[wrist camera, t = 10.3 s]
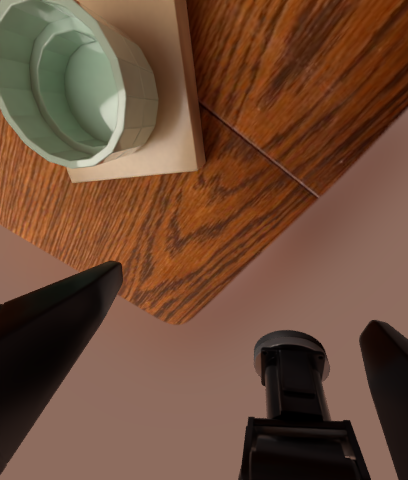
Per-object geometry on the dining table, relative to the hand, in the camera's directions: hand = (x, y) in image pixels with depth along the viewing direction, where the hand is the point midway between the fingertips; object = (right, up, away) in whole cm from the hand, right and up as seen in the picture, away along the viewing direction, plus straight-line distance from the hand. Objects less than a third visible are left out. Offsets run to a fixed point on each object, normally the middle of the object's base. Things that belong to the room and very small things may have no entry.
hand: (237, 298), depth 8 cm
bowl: (-7, +11, +6) cm, 14 cm away
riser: (-7, +12, +9) cm, 16 cm away
